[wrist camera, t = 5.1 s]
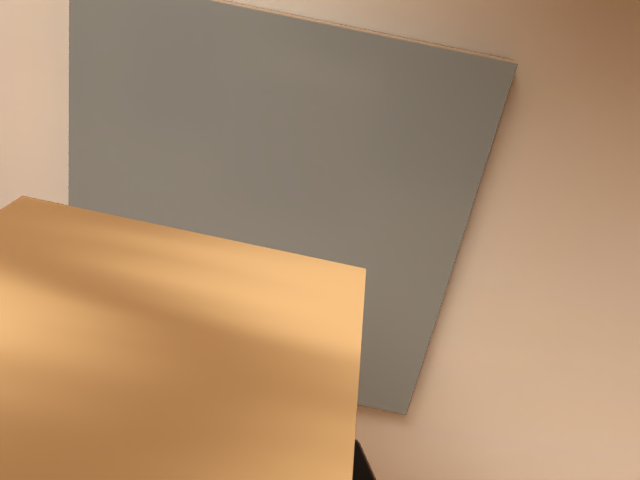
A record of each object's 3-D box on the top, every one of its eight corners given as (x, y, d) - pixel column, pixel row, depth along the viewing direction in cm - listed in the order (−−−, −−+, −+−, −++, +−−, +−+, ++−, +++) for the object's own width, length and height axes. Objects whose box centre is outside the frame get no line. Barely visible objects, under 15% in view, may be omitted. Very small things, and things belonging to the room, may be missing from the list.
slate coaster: (77, 330, 18) (67, 342, 18) (82, -30, 14) (69, -29, 13) (405, 401, 18) (405, 415, 17) (512, 59, 14) (517, 64, 13)
